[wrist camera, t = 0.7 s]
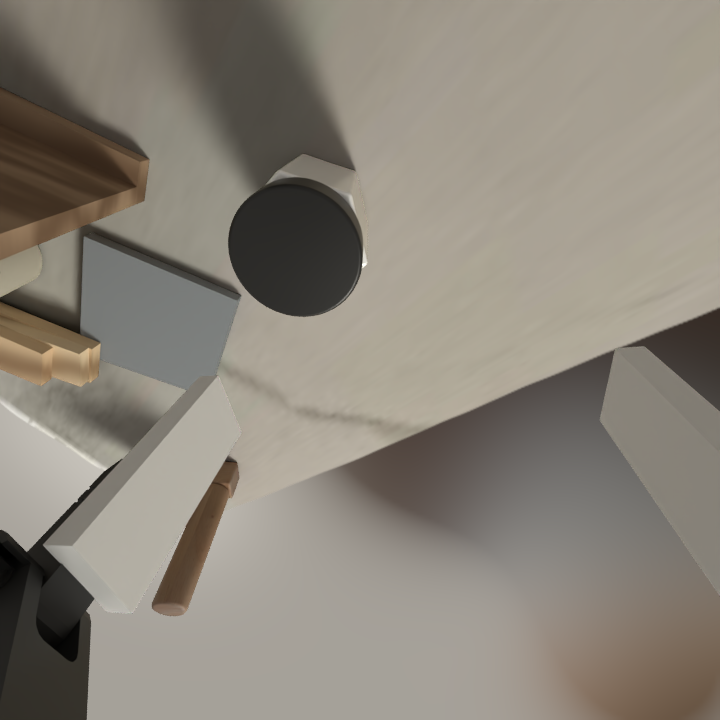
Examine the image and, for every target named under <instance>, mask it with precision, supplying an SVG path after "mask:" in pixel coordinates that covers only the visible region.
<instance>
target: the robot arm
mask: <svg viewBox="0 0 720 720" xmlns="http://www.w3.org/2000/svg"><path fill="white" fill-rule="evenodd" d="M600 421H601V423H602V424H603V426H604V427H605V429H606V430H607V431H608V433H609V434H610V436H611V437H612V439H613V440H614V442H615V443H616V445H617V446H618V448H619V449H620V451H621V452H622V454H623V455H624V456H625V458H626V459H627V461H628V462H629V464H630V465H631V466H632V468H633V470H634V471H635V473H636V474H637V475H638V477H639V479H640V480H641V481H642V483H643V484H644V486H645V487H646V489H647V490H648V492H649V493H650V495H651V496H652V497H653V499H654V500H655V502H656V503H657V505H658V506H659V508H660V509H661V511H662V512H663V514H664V515H665V517H666V518H667V520H668V521H669V522H670V524H671V525H672V527H673V528H674V529H675V531H676V533H677V534H678V536H679V537H680V539H681V540H682V542H683V543H684V545H685V546H686V547H687V549H688V550H689V552H690V553H691V555H692V556H693V558H694V559H695V561H696V562H697V564H698V565H699V567H700V568H701V570H702V571H703V572H704V574H705V575H706V577H707V578H708V580H709V581H710V583H711V584H712V585H713V587H714V589H715V590H716V592H717V593H718V594H719V596H720V412H719V411H718V410H717V409H716V408H715V407H714V406H712V405H711V404H710V403H709V402H708V401H707V400H706V399H704V398H703V397H702V396H701V395H700V394H699V393H697V392H696V391H695V390H694V389H693V388H692V387H691V386H689V385H688V384H687V383H686V382H685V381H684V380H682V379H681V378H680V377H679V376H677V374H675V373H674V372H673V371H672V370H671V369H670V368H669V367H667V366H666V365H665V364H664V363H663V362H662V361H660V360H659V359H658V358H657V357H656V356H655V355H654V354H652V353H651V352H650V351H649V350H648V349H647V348H645V347H630V348H615V353H614V357H613V362H612V366H611V371H610V376H609V381H608V385H607V390H606V394H605V399H604V403H603V408H602V412H601V417H600ZM241 433H242V432H241V429H240V427H239V424H238V422H237V419H236V417H235V414H234V412H233V410H232V407H231V405H230V402H229V400H228V397H227V395H226V393H225V390H224V388H223V385H222V383H221V380H220V378H219V376H218V375H215V376H200V377H199V378H198V379H197V380H196V381H195V382H194V383H193V384H192V385H191V386H190V387H189V389H188V390H187V391H186V392H185V393H184V394H183V395H182V396H181V397H180V398H179V399H178V400H177V401H176V402H175V404H174V405H173V406H172V407H171V408H170V409H169V410H168V411H167V412H166V413H165V414H164V415H163V416H162V417H161V419H160V420H159V421H158V422H157V423H156V424H155V425H154V426H153V427H152V428H151V429H150V430H149V431H148V433H147V434H146V435H145V436H144V437H143V438H142V439H141V440H140V441H139V442H138V443H137V444H136V445H135V446H134V448H133V449H132V450H131V451H130V452H129V453H128V454H127V455H126V456H125V457H124V458H123V459H121V460H120V461H118V462H117V463H115V464H114V465H113V466H111V467H110V468H108V469H107V470H106V471H104V472H103V473H102V474H101V475H100V476H99V478H98V479H97V480H96V481H95V482H94V483H93V484H92V485H91V486H90V489H89V490H86V491H85V492H84V493H83V494H82V495H81V496H80V497H79V499H78V502H75V503H74V504H73V505H72V506H71V507H70V508H69V509H68V510H67V511H66V512H65V513H64V514H63V515H62V516H61V517H60V519H58V520H57V521H56V522H55V524H54V525H53V526H52V527H51V528H50V529H49V530H48V531H47V532H46V533H45V534H44V535H43V536H42V537H41V538H40V539H39V540H38V541H37V542H36V544H35V545H34V546H33V547H32V548H31V549H30V550H29V551H28V552H26V551H25V550H24V549H23V548H22V547H21V546H20V545H19V544H18V543H17V542H16V541H15V540H14V539H13V538H12V537H11V536H10V535H9V534H8V533H6V532H4V531H3V530H0V720H86V719H87V699H88V677H89V676H88V675H89V655H90V632H91V620H90V615H89V614H88V613H87V612H86V610H87V608H88V607H89V606H90V604H91V603H92V601H93V600H94V599H95V601H97V603H98V604H99V605H100V606H101V607H102V608H103V609H104V610H105V611H106V612H115V613H128V614H133V612H134V611H135V609H136V607H137V606H138V604H139V602H140V601H141V599H142V597H143V596H144V594H145V592H146V591H147V589H148V587H149V586H150V584H151V582H152V581H153V579H154V577H155V576H156V574H157V572H158V571H159V569H160V567H161V566H162V564H163V562H164V561H165V559H166V557H167V556H168V554H169V552H170V551H171V549H172V548H173V546H174V544H175V543H176V541H177V539H178V538H179V536H180V534H181V533H182V531H183V529H184V528H185V526H186V524H187V523H188V521H189V519H190V518H191V516H192V514H193V513H194V511H195V509H196V508H197V506H198V504H199V503H200V501H201V499H202V498H203V496H204V494H205V493H206V491H207V489H208V488H209V486H210V484H211V483H212V481H213V479H214V478H215V476H216V475H217V473H218V471H219V470H220V468H221V466H222V465H223V463H224V461H225V460H226V458H227V456H228V455H229V453H230V451H231V450H232V448H233V446H234V445H235V443H236V441H237V440H238V438H239V436H240V435H241Z"/></svg>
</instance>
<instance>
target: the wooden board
mask: <svg viewBox="0 0 720 720" xmlns="http://www.w3.org/2000/svg"><path fill="white" fill-rule="evenodd" d="M148 167H149V159H147V158H145V157H143V156H141V155H139V154H137V153H135V152H133V151H131V150H129V149H127V148H124V147H122V146H120V145H118V144H116V143H114V142H112V141H110V140H108V139H106V138H104V137H102V136H100V135H98V134H96V133H94V132H91V131H89V130H87V129H85V128H83V127H81V126H79V125H77V124H75V123H73V122H71V121H69V120H67V119H65V118H63V117H61V116H59V115H56V114H54V113H52V112H50V111H48V110H46V109H44V108H42V107H40V106H38V105H36V104H34V103H32V102H30V101H28V100H26V99H23V98H21V97H19V96H17V95H15V94H13V93H11V92H9V91H7V90H5V89H3V88H1V87H0V260H2V259H5V258H7V257H10V256H12V255H14V254H17V253H19V252H22V251H24V250H27V249H29V248H31V247H34V246H36V245H39V244H41V243H43V242H46V241H48V240H51V239H53V238H56V237H58V236H60V235H63V234H65V233H68V232H70V231H72V230H75V229H77V228H80V227H82V226H84V225H87V224H89V223H92V222H94V221H97V220H99V219H101V218H104V217H106V216H109V215H111V214H113V213H116V212H118V211H121V210H123V209H125V208H128V207H130V206H133V205H135V204H138V203H140V202H142V201H144V198H145V190H146V183H147V175H148Z"/></svg>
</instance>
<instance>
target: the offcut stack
mask: <svg viewBox="0 0 720 720" xmlns="http://www.w3.org/2000/svg"><path fill="white" fill-rule="evenodd" d="M100 346H101V343H99V342H97V341H95V340H92V339H90V338H87V337H85V336H82V335H80V334H77V333H75V332H73V331H70V330H68V329H65V328H63V327H60V326H58V325H55V324H53V323H51V322H48V321H46V320H43V319H41V318H38V317H36V316H33V315H31V314H29V313H26V312H24V311H21V310H19V309H16V308H14V307H11V306H9V305H6V304H4V303H2V302H0V369H1V370H3V371H6V372H8V373H11V374H13V375H16V376H18V377H20V378H23V379H25V380H28V381H30V382H33V383H35V384H37V385H40V386H42V385H43V384H45V383H46V382H47V381H49V380H50V379H51V377H54V378H57V379H60V380H63V381H66V382H69V383H71V384H74V385H77V386H80V387H81V386H82V385H84V384H85V383H86V382H89V383H91V382H92V381H93V380H94V379H95V378H97V377H98V373H99V359H100Z"/></svg>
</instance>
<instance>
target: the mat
mask: <svg viewBox="0 0 720 720" xmlns="http://www.w3.org/2000/svg"><path fill="white" fill-rule="evenodd" d="M240 298H241V295H238V294H236V293H234V292H231V291H229V290H227V289H224V288H222V287H220V286H217V285H215V284H213V283H210V282H208V281H205V280H203V279H201V278H198V277H196V276H194V275H191V274H189V273H187V272H184V271H182V270H180V269H177V268H175V267H172V266H170V265H168V264H165V263H163V262H161V261H158V260H156V259H154V258H151V257H149V256H147V255H144V254H142V253H140V252H137V251H135V250H132V249H130V248H128V247H125V246H123V245H121V244H118V243H116V242H114V241H111V240H109V239H107V238H104V237H102V236H99V235H97V234H95V233H90V234H88V235H85V236H84V241H83V269H82V296H81V323H80V335H82V336H85V337H87V338H90V339H92V340H95V341H97V342H99V343H101V346H100V359H99V360H102V361H105V362H108V363H111V364H114V365H117V366H119V367H122V368H125V369H128V370H131V371H134V372H137V373H139V374H142V375H145V376H148V377H151V378H154V379H157V380H159V381H162V382H165V383H168V384H171V385H174V386H177V387H179V388H182V389H185V390H188V389H189V387H190V386H191V385H192V384H193V383H194V382H195V381H196V380H197V379H198V378H199V377H200V376H215V375H216V372H217V369H218V366H219V363H220V360H221V357H222V354H223V351H224V348H225V344H226V341H227V338H228V335H229V332H230V329H231V326H232V323H233V320H234V316H235V313H236V310H237V307H238V304H239V301H240Z"/></svg>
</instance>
